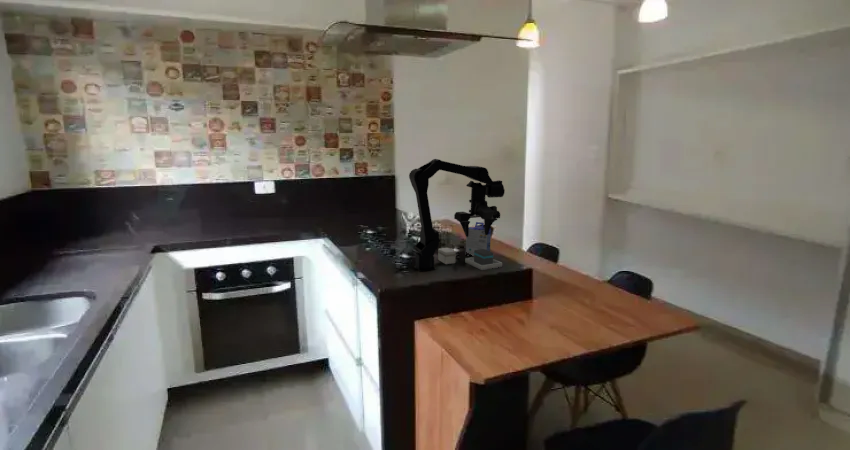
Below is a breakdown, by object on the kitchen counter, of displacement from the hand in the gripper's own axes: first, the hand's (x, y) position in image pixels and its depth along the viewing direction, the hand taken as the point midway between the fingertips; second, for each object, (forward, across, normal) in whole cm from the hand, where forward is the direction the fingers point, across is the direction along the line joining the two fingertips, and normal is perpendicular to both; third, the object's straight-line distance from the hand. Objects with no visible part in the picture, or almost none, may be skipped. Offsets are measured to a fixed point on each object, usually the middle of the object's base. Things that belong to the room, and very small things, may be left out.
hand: (476, 235), depth 189 cm
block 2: (+11, +2, -3) cm, 12 cm away
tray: (+12, +2, -3) cm, 12 cm away
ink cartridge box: (+12, +8, +10) cm, 18 cm away
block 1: (+12, -9, +8) cm, 17 cm away
